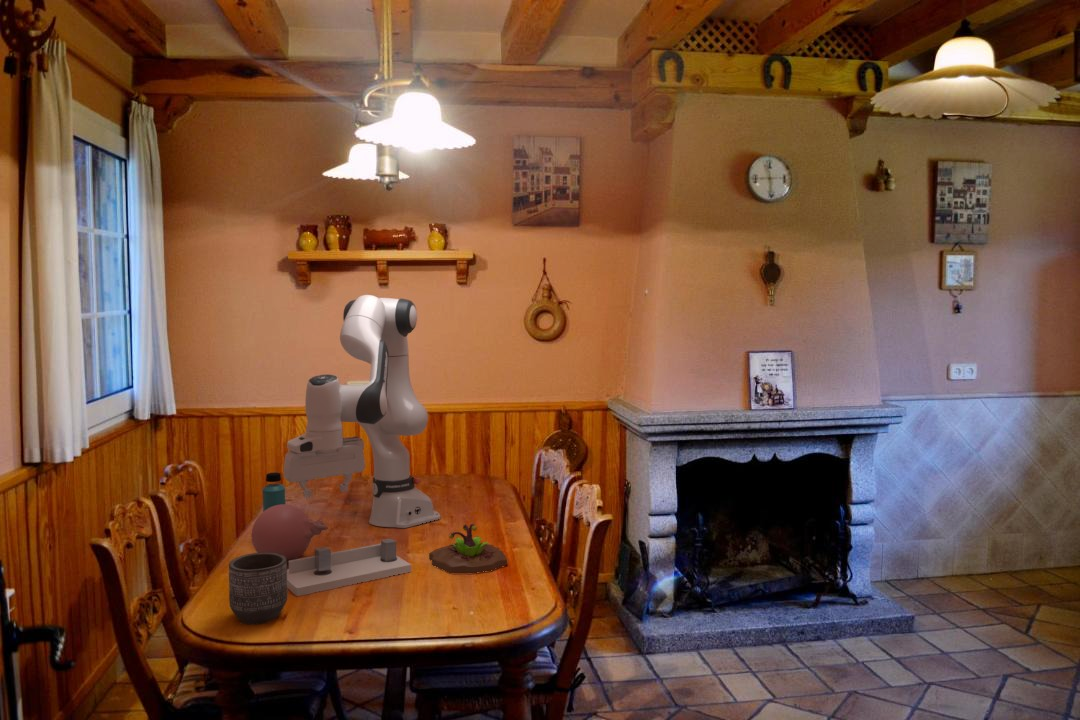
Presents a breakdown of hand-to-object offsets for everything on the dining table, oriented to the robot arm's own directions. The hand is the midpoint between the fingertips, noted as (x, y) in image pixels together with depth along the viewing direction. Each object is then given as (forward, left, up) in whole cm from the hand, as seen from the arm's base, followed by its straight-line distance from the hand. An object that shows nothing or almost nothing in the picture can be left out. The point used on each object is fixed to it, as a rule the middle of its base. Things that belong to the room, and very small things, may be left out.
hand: (326, 494), depth 203 cm
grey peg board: (-4, +2, -21) cm, 22 cm away
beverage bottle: (+2, -36, -22) cm, 42 cm away
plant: (-36, +10, -22) cm, 43 cm away
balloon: (+4, -16, -22) cm, 27 cm away
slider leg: (+2, +1, -19) cm, 19 cm away
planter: (+22, +16, -22) cm, 35 cm away
